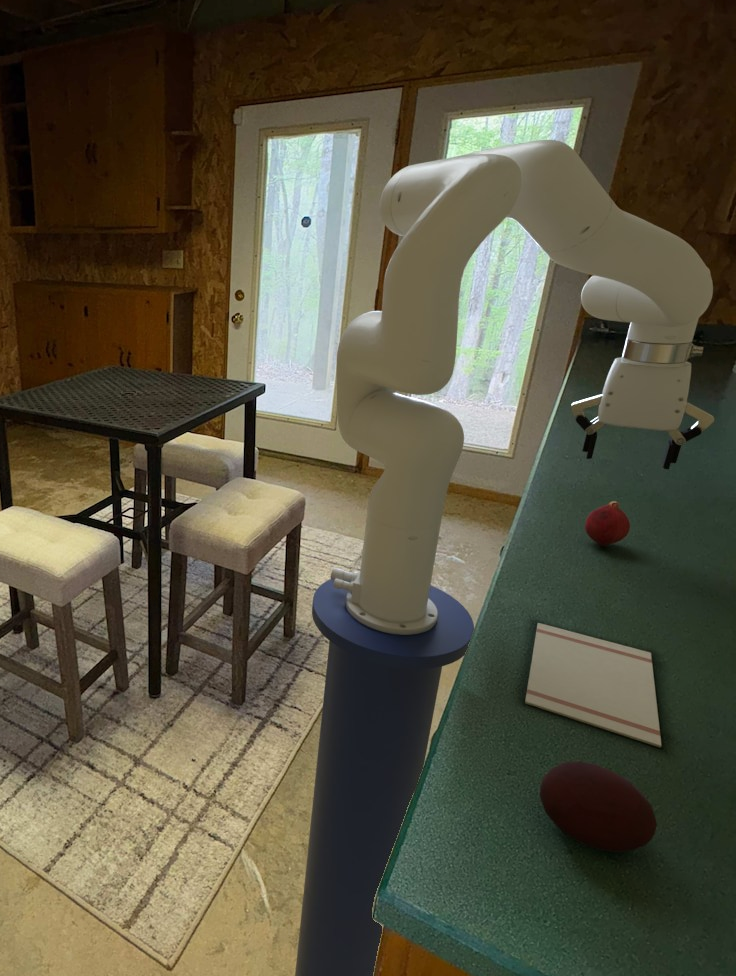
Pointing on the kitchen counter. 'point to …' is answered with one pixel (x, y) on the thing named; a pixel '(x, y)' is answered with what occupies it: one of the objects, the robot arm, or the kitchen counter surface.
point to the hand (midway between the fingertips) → (625, 461)
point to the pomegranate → (607, 524)
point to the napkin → (594, 683)
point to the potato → (597, 807)
